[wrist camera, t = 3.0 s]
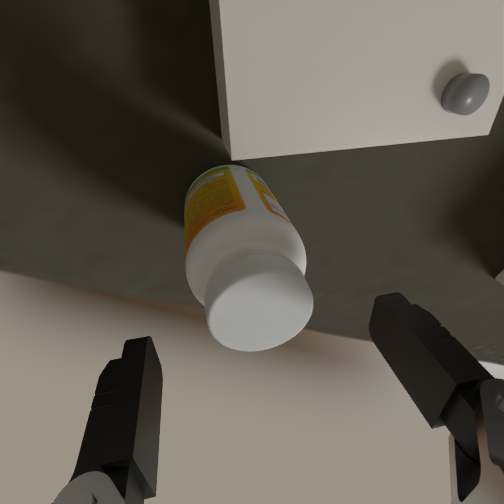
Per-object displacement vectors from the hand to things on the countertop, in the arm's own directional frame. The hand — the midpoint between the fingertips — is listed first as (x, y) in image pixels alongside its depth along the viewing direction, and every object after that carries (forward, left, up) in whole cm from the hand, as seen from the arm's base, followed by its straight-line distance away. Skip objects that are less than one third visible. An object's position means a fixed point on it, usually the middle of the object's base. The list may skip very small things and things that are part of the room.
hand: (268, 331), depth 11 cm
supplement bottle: (0, 0, -10) cm, 10 cm away
